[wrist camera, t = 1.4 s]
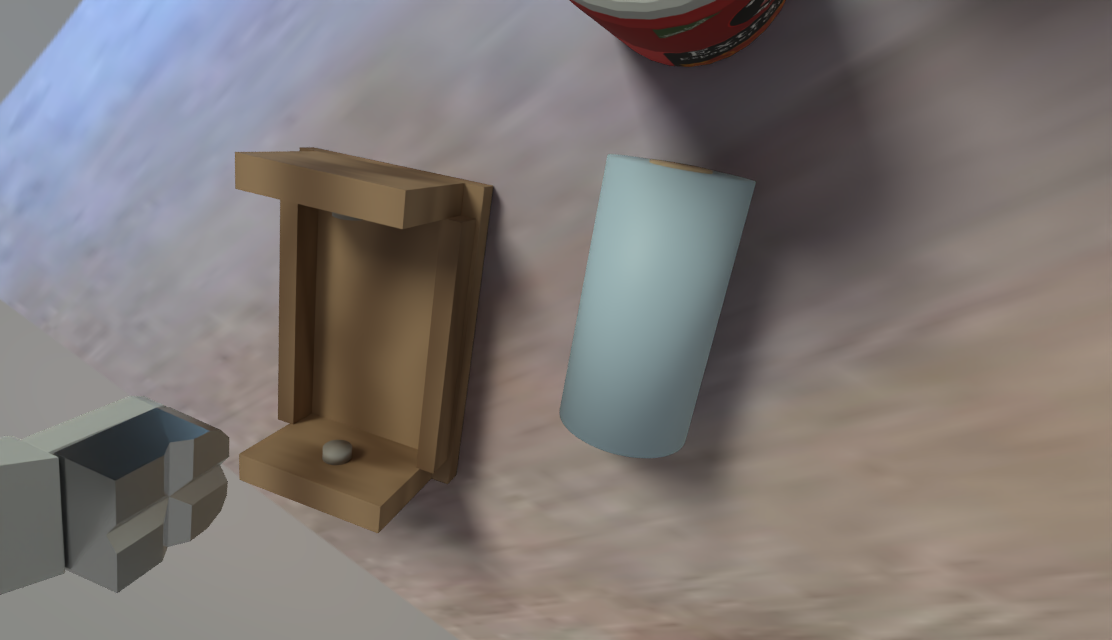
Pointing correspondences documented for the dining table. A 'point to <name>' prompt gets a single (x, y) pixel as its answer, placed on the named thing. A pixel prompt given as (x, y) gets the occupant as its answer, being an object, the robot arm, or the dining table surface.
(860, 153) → the dining table surface
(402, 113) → the dining table surface
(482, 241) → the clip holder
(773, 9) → the canned food
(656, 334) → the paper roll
